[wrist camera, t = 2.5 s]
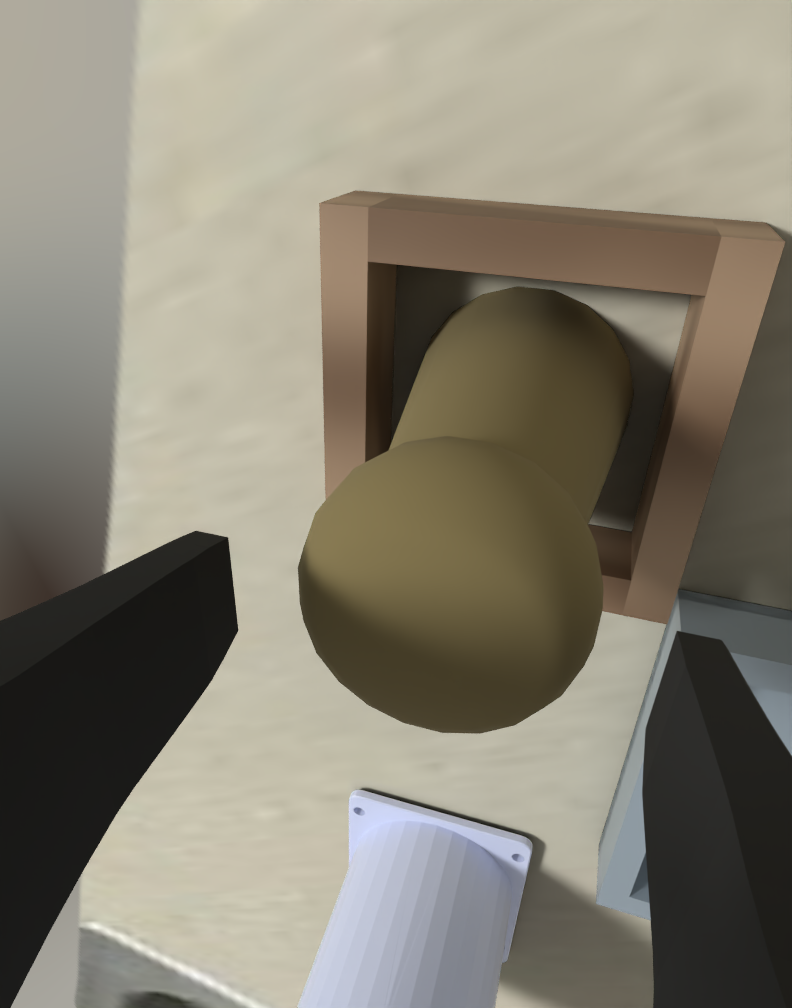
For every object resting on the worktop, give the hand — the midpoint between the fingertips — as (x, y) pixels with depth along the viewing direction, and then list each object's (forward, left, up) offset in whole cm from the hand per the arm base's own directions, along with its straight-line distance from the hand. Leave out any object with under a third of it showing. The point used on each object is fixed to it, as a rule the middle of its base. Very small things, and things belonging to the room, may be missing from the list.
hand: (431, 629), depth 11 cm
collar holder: (0, 0, -10) cm, 10 cm away
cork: (0, 0, -11) cm, 11 cm away
